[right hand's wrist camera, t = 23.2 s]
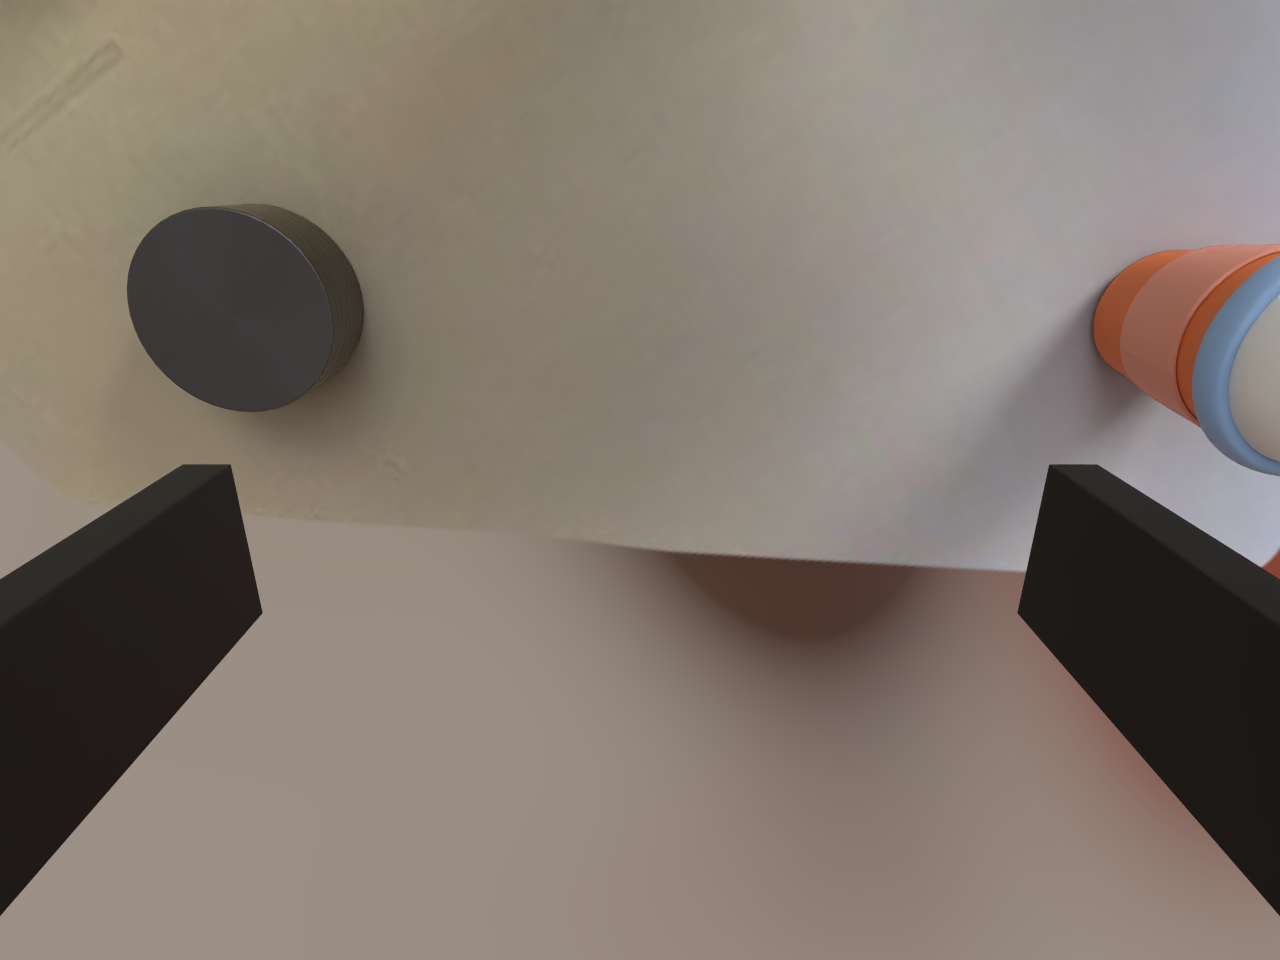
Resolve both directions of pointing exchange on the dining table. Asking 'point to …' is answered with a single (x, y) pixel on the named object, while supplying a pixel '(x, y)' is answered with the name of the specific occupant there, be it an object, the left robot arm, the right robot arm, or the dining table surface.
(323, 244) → the canister lid
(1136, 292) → the cup with straw
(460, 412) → the dining table surface
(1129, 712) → the right robot arm
